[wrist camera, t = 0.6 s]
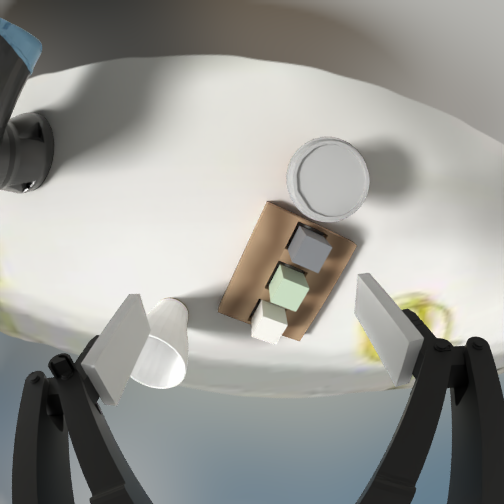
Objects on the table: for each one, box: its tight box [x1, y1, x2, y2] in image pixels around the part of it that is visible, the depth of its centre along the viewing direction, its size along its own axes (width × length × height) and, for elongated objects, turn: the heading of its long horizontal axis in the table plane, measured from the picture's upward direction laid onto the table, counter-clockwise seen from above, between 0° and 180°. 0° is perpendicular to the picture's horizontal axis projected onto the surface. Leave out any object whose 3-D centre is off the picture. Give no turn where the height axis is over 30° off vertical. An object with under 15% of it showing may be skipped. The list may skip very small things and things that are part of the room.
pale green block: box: [269, 264, 309, 312], centre depth 40 cm, size 4×4×5 cm
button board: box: [218, 201, 357, 341], centre depth 43 cm, size 15×19×2 cm
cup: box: [130, 298, 188, 389], centre depth 41 cm, size 10×10×14 cm
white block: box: [251, 300, 288, 345], centre depth 42 cm, size 4×4×5 cm
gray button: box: [288, 226, 332, 273], centre depth 38 cm, size 4×4×5 cm
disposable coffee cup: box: [286, 137, 370, 222], centre depth 33 cm, size 10×10×12 cm
